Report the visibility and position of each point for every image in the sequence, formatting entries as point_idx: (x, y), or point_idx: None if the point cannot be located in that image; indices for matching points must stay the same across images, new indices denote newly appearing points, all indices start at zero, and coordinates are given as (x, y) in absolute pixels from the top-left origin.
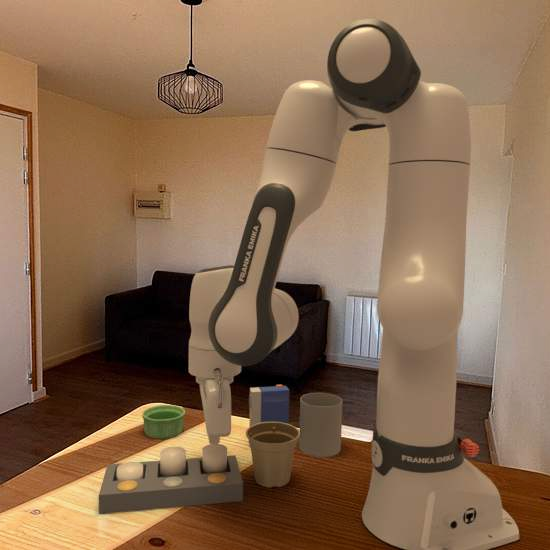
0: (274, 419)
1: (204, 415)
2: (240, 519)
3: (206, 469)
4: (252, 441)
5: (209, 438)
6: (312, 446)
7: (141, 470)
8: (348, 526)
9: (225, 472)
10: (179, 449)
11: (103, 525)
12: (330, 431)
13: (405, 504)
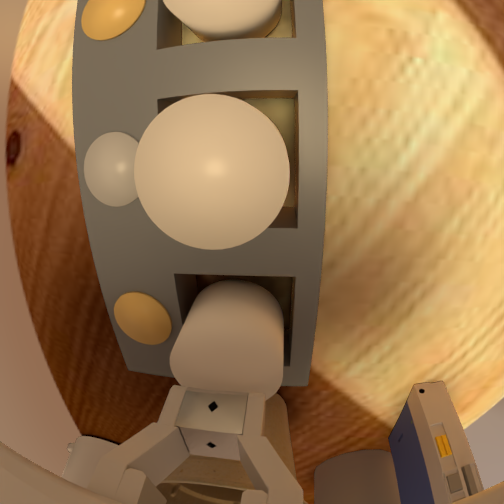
0: (410, 476)
1: (41, 502)
2: (82, 317)
3: (197, 298)
4: (180, 474)
5: (164, 404)
6: (327, 476)
7: (195, 24)
8: (103, 428)
9: None
10: (238, 213)
11: (68, 10)
12: None
13: (66, 476)
